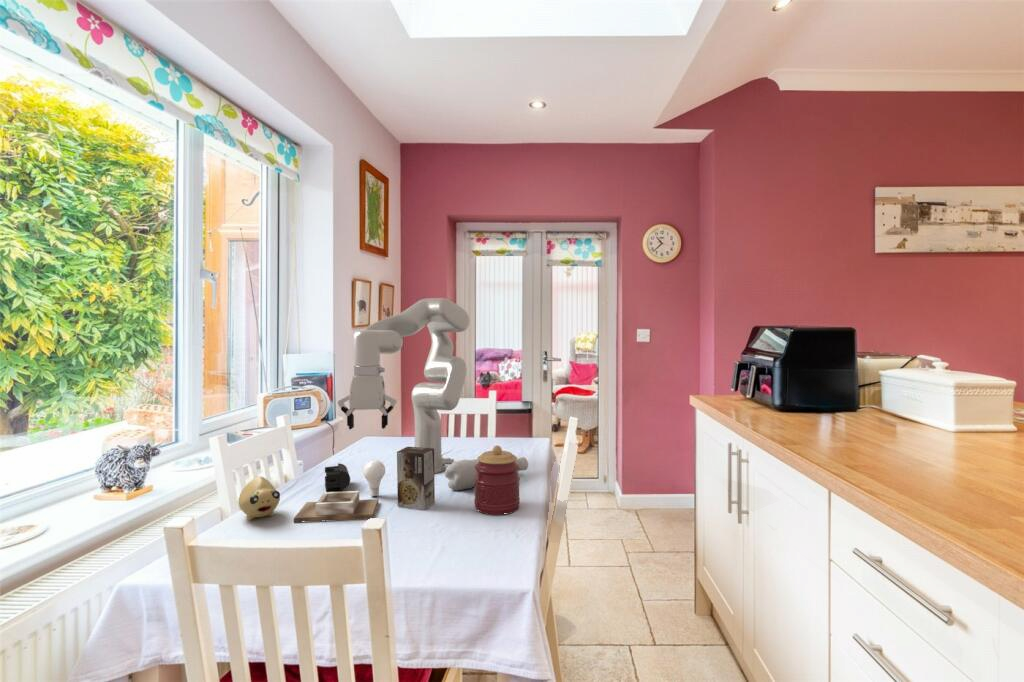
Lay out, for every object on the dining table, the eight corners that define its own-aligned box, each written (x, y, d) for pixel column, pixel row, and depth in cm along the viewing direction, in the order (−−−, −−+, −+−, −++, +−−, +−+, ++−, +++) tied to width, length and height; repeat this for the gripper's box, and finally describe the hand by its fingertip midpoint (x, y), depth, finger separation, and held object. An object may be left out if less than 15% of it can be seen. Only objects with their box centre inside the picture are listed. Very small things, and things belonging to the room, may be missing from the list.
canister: (485, 519, 130) (485, 453, 129) (467, 504, 141) (467, 443, 141) (528, 510, 136) (528, 448, 135) (507, 496, 147) (507, 438, 147)
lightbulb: (366, 493, 151) (365, 458, 150) (387, 492, 151) (386, 457, 151) (361, 500, 144) (361, 463, 144) (383, 499, 145) (383, 463, 145)
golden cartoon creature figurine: (245, 529, 123) (244, 487, 123) (235, 515, 132) (234, 476, 132) (286, 519, 130) (286, 479, 129) (274, 507, 139) (274, 470, 139)
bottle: (461, 485, 148) (535, 471, 166) (453, 457, 152) (526, 446, 170) (448, 495, 154) (521, 480, 172) (440, 468, 158) (512, 456, 176)
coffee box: (435, 503, 142) (435, 448, 142) (424, 510, 136) (424, 453, 136) (408, 499, 145) (408, 445, 145) (396, 507, 139) (396, 450, 139)
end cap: (350, 491, 153) (350, 470, 153) (326, 494, 150) (326, 472, 150) (347, 482, 162) (347, 462, 162) (324, 485, 159) (324, 464, 159)
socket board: (378, 503, 142) (378, 488, 142) (372, 518, 130) (372, 503, 130) (306, 506, 139) (306, 491, 139) (293, 522, 127) (293, 506, 127)
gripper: (398, 370, 151) (398, 425, 151) (341, 370, 150) (341, 426, 150) (394, 372, 143) (394, 430, 144) (334, 372, 142) (334, 431, 142)
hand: (367, 428), depth 147 cm, fingers open, 9 cm apart
